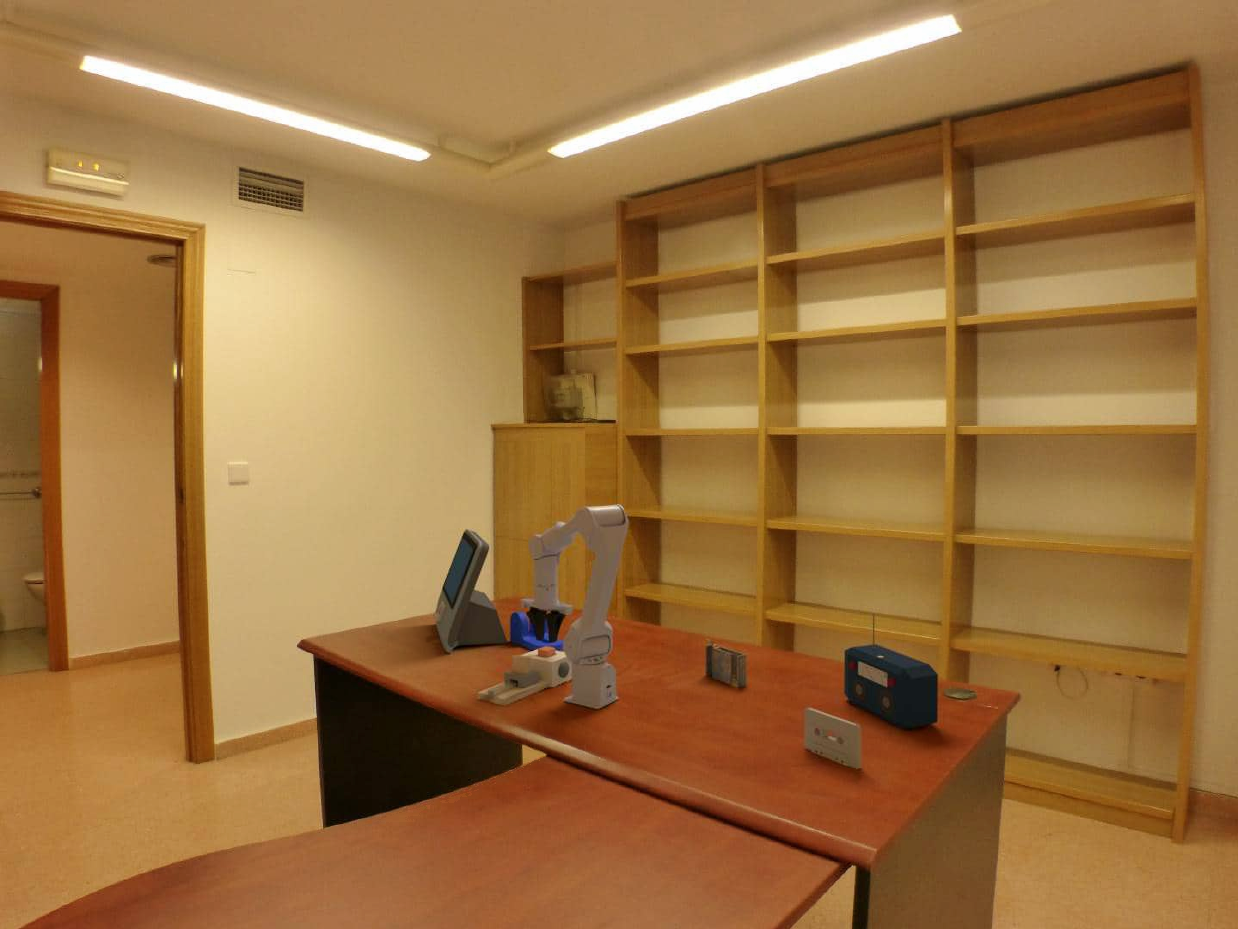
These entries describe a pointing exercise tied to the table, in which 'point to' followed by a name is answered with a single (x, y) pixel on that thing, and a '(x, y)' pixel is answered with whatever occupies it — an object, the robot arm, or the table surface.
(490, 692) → the rail
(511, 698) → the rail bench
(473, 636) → the touchscreen device
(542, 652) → the button
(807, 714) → the cassette
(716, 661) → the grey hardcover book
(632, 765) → the table surface
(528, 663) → the carriage
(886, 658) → the radio
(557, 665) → the cabinet
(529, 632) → the bracket
